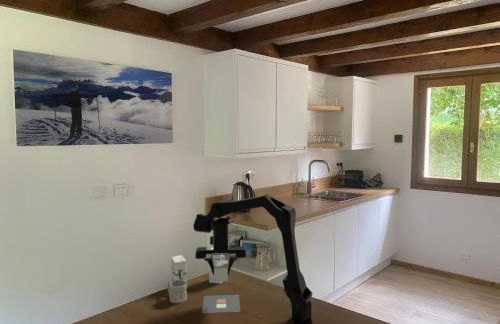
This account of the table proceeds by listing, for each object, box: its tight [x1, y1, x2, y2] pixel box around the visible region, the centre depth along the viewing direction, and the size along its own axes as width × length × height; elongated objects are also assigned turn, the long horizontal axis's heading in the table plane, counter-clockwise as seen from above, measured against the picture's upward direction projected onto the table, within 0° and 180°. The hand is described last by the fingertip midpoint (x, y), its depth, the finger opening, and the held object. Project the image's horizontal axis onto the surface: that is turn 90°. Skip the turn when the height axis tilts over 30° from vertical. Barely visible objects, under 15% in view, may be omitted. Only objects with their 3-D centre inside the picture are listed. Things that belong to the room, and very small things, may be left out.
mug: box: [167, 280, 188, 304], centre depth 143 cm, size 10×7×7 cm
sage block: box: [214, 260, 229, 283], centre depth 138 cm, size 5×8×5 cm, turn 4°
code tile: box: [201, 294, 241, 314], centre depth 139 cm, size 14×14×1 cm
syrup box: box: [208, 246, 226, 284], centre depth 160 cm, size 6×6×14 cm
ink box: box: [170, 255, 188, 283], centre depth 155 cm, size 9×5×12 cm, turn 25°
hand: (221, 274), depth 138 cm, fingers closed on sage block, 5 cm apart
